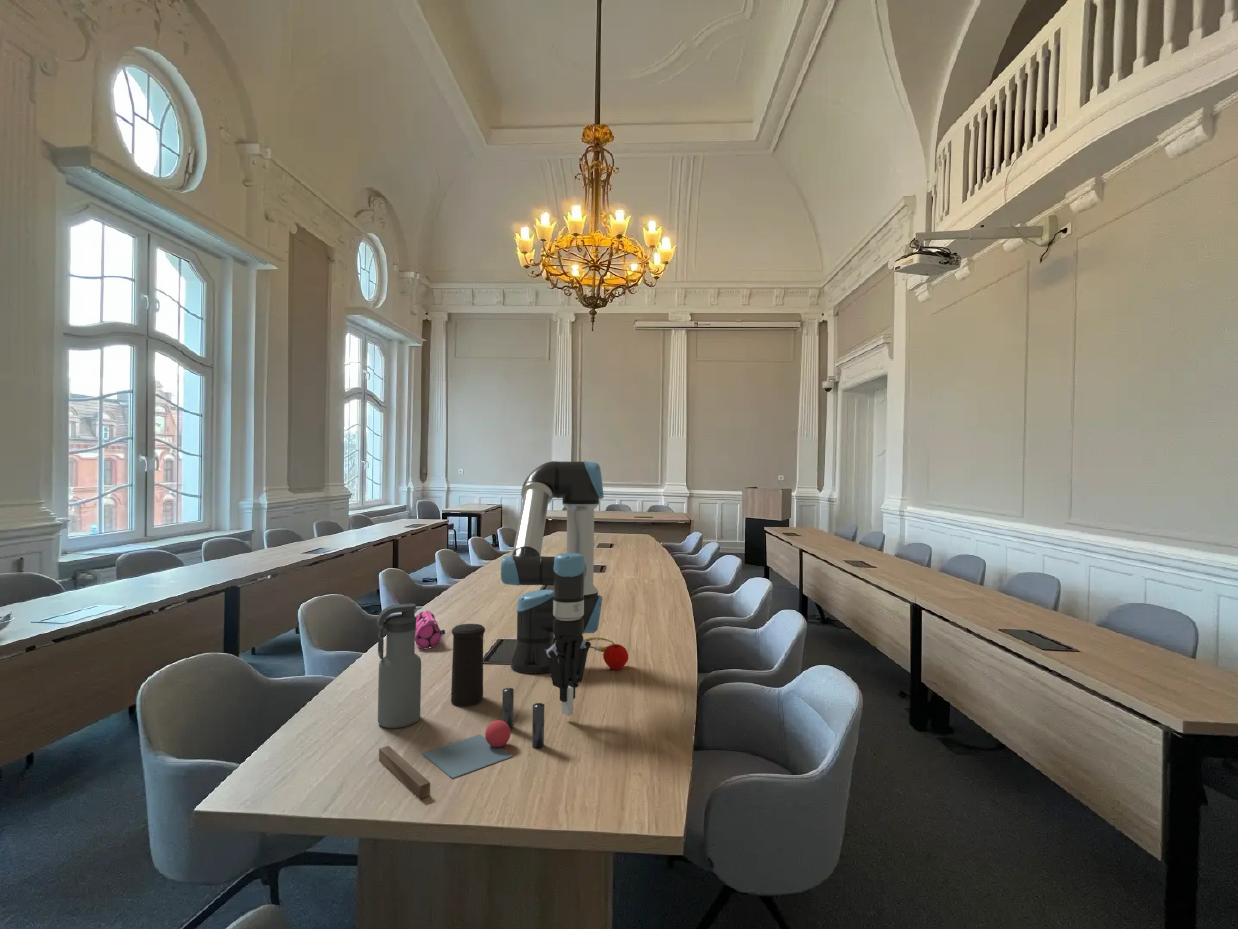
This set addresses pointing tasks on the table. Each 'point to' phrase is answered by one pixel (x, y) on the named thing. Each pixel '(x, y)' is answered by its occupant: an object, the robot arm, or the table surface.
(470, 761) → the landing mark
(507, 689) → the post
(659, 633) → the table surface
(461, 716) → the table surface
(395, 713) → the water bottle
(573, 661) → the robot arm
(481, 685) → the container
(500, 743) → the ball
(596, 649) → the yellow cable loop
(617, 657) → the apple
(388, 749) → the wall
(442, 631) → the pencil case
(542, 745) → the post
